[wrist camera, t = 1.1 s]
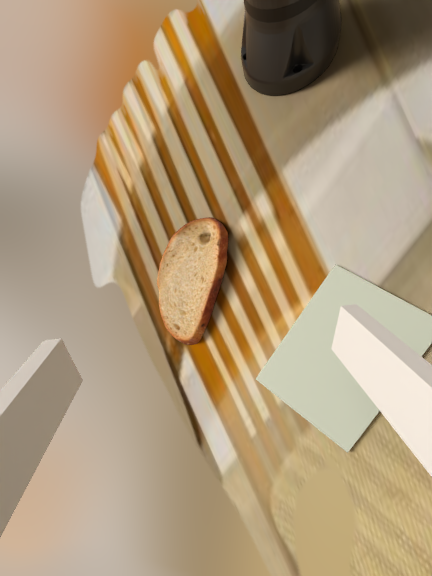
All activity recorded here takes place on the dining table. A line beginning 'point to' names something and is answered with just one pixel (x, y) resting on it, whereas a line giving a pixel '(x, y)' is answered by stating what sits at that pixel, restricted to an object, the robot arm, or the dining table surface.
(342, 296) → the mat
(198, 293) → the slice of bread
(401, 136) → the dining table surface
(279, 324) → the dining table surface
